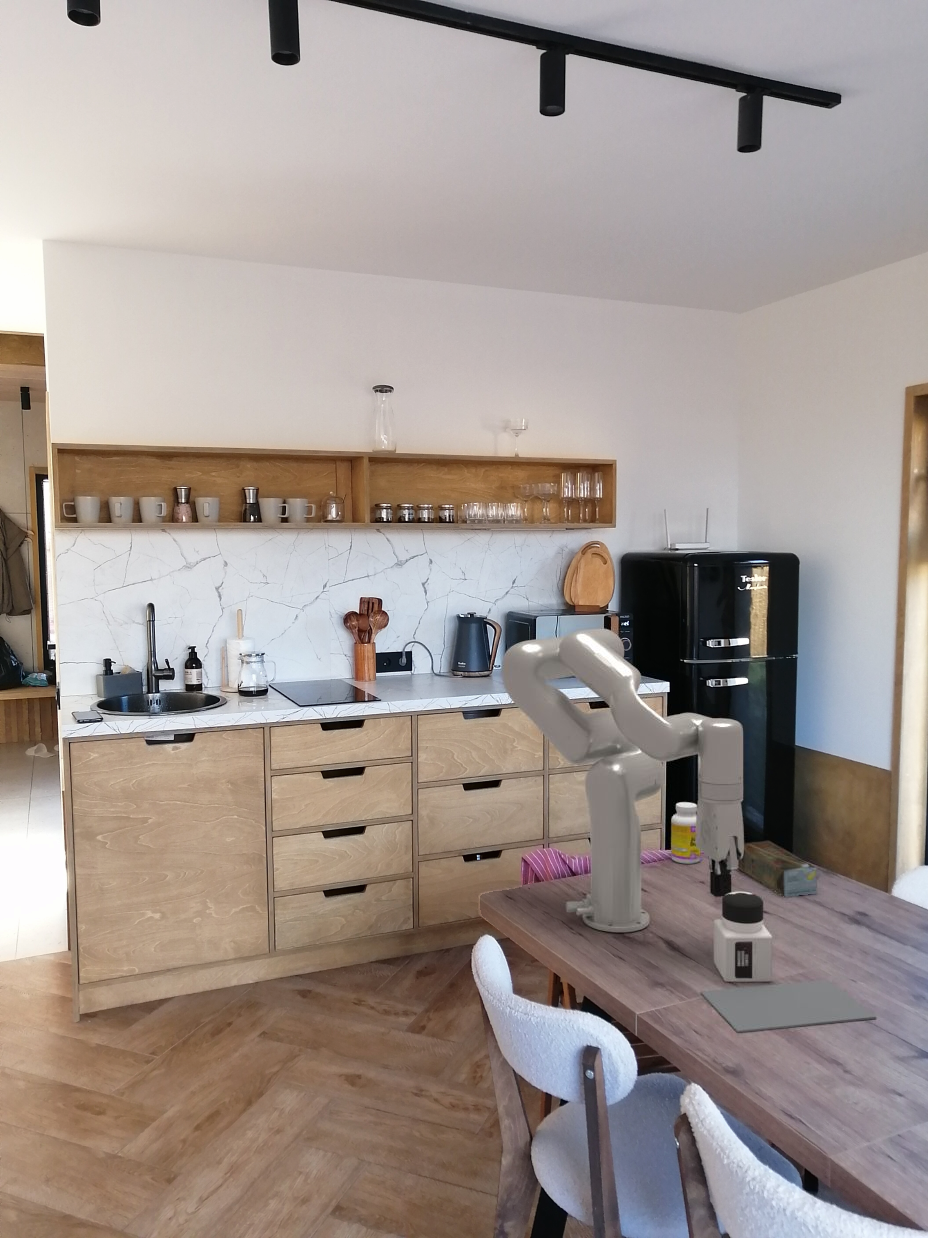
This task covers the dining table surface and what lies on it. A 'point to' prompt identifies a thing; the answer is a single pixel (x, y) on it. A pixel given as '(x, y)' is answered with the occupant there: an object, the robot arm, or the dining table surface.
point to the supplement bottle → (684, 834)
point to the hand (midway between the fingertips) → (720, 894)
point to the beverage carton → (778, 869)
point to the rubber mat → (785, 1005)
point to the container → (742, 940)
